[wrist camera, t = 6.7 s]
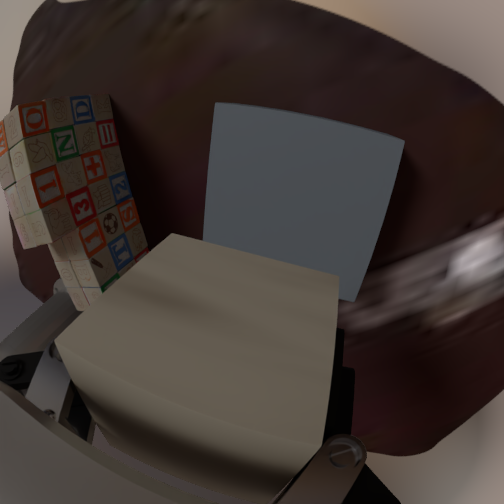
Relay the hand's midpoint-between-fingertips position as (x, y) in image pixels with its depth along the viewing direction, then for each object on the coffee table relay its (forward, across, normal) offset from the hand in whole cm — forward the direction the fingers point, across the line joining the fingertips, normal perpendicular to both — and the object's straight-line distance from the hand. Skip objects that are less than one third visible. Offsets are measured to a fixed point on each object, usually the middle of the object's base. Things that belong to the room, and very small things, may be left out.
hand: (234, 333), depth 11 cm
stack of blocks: (+18, +21, +3) cm, 28 cm away
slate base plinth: (+18, 0, 0) cm, 18 cm away
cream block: (+1, 0, 0) cm, 1 cm away
